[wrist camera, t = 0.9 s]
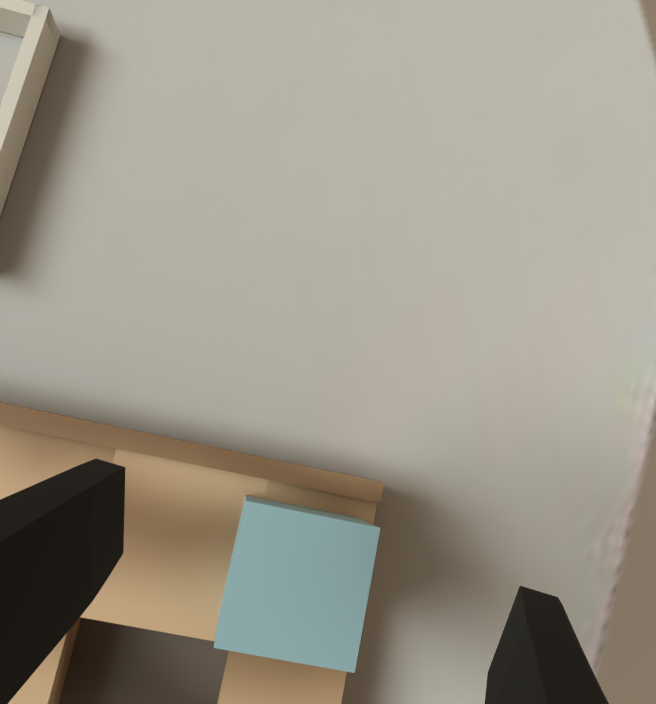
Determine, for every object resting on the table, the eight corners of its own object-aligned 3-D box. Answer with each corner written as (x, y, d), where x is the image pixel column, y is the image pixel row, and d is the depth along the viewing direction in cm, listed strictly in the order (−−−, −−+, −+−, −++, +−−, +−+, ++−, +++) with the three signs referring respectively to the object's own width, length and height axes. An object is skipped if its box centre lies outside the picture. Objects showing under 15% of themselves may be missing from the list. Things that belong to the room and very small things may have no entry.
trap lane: (301, 850, 25) (313, 930, 21) (-404, 744, 22) (-557, 810, 18) (369, 481, 28) (392, 483, 24) (-247, 352, 25) (-346, 329, 21)
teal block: (333, 635, 24) (354, 672, 20) (218, 614, 24) (213, 647, 19) (356, 517, 25) (380, 527, 21) (245, 495, 25) (246, 500, 20)
